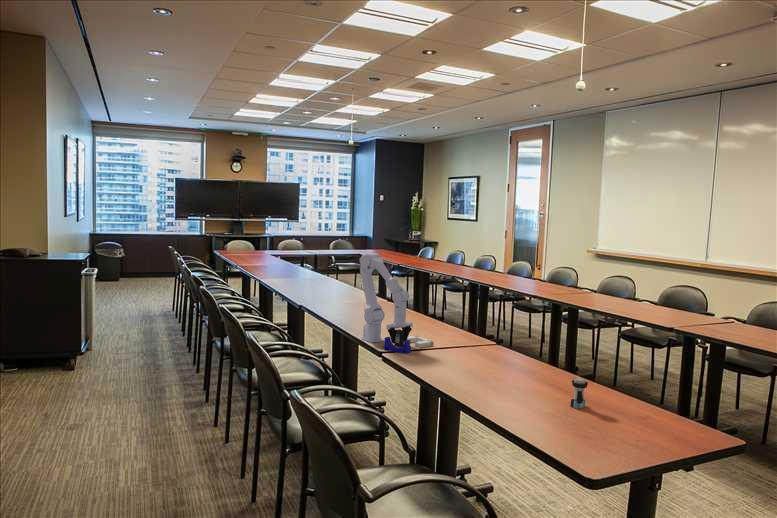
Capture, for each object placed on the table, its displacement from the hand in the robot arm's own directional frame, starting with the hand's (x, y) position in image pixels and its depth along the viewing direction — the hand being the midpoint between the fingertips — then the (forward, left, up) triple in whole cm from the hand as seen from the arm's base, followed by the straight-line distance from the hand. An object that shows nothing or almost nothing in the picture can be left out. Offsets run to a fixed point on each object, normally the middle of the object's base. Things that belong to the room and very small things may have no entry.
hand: (399, 342), depth 269 cm
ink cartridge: (0, 0, -2) cm, 2 cm away
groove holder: (0, +11, -2) cm, 12 cm away
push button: (+98, +8, -2) cm, 98 cm away
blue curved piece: (+7, -6, -2) cm, 9 cm away
